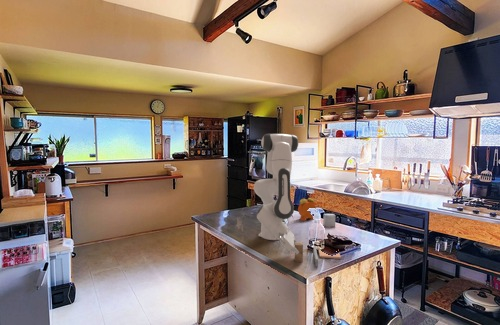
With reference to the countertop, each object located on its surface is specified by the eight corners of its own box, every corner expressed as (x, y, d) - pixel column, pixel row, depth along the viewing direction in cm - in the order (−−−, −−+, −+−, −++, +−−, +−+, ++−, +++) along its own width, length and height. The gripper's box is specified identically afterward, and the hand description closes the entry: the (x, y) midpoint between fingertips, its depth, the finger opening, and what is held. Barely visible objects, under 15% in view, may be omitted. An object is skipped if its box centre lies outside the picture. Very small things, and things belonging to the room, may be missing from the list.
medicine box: (333, 224, 211) (333, 213, 210) (335, 226, 207) (335, 215, 206) (323, 225, 211) (323, 213, 210) (324, 226, 206) (325, 215, 206)
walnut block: (294, 258, 152) (294, 242, 151) (302, 258, 151) (302, 242, 151) (294, 261, 148) (294, 244, 147) (302, 261, 147) (302, 245, 146)
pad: (318, 249, 164) (318, 247, 164) (337, 250, 163) (337, 248, 162) (319, 257, 153) (319, 255, 152) (340, 258, 151) (340, 257, 151)
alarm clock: (310, 217, 233) (311, 193, 231) (315, 218, 227) (315, 194, 225) (297, 219, 227) (297, 194, 225) (302, 220, 222) (302, 196, 220)
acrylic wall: (313, 252, 159) (313, 245, 159) (315, 252, 159) (315, 246, 158) (315, 266, 141) (315, 259, 141) (318, 267, 141) (318, 259, 141)
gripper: (283, 233, 139) (302, 253, 138) (284, 221, 159) (302, 239, 158) (274, 241, 140) (293, 261, 139) (277, 228, 160) (294, 246, 159)
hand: (298, 249), depth 149 cm, fingers open, 8 cm apart
